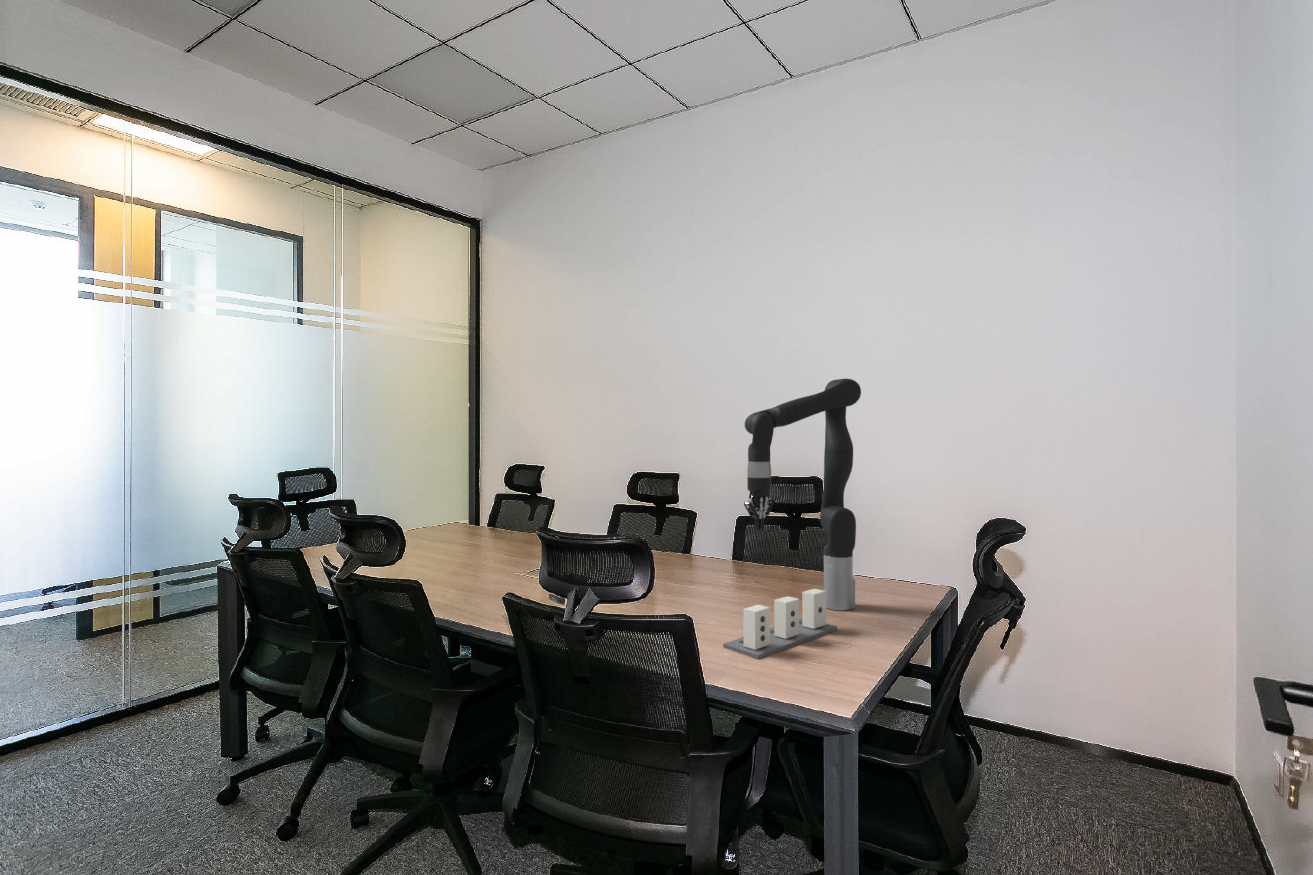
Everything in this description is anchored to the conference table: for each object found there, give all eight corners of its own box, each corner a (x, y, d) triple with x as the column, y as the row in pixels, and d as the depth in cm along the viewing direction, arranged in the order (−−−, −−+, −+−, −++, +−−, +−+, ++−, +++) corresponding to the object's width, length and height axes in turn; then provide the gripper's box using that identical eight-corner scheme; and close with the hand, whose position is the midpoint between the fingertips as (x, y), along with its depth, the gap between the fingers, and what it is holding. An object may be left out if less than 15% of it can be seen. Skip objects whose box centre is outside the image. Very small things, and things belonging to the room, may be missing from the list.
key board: (723, 647, 177) (723, 643, 177) (803, 620, 201) (803, 616, 201) (757, 659, 168) (757, 654, 168) (837, 629, 192) (837, 625, 192)
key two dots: (774, 635, 183) (774, 599, 183) (787, 630, 187) (787, 596, 187) (786, 639, 180) (786, 603, 180) (799, 634, 184) (799, 599, 184)
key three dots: (743, 645, 175) (743, 608, 174) (758, 640, 179) (758, 604, 178) (755, 649, 171) (755, 612, 171) (770, 644, 175) (770, 607, 175)
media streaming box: (602, 600, 227) (601, 591, 227) (564, 607, 218) (564, 598, 218) (581, 591, 239) (581, 583, 239) (545, 597, 230) (544, 589, 230)
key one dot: (802, 625, 192) (802, 591, 192) (814, 621, 196) (814, 588, 196) (814, 629, 189) (814, 594, 188) (826, 624, 193) (826, 591, 192)
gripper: (754, 477, 200) (755, 533, 201) (781, 475, 209) (782, 529, 209) (736, 476, 206) (736, 531, 206) (763, 473, 215) (763, 526, 215)
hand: (759, 529), depth 208 cm, fingers closed
